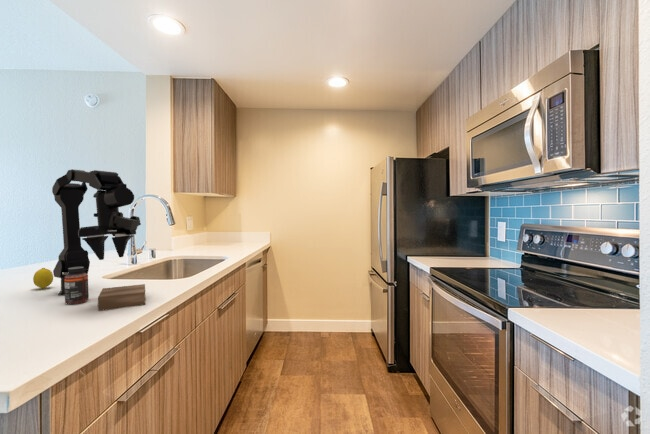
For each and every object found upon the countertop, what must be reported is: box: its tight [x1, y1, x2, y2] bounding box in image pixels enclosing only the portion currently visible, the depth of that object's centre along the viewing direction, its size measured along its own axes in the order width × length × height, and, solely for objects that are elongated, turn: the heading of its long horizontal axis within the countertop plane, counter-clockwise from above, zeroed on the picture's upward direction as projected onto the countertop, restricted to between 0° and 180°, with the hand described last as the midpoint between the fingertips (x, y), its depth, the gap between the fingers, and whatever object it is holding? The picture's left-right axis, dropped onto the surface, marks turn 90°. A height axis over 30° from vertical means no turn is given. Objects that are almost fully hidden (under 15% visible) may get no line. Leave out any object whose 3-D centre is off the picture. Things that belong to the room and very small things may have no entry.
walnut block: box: [97, 283, 146, 312], centre depth 98 cm, size 12×12×4 cm
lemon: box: [32, 267, 54, 290], centre depth 114 cm, size 6×6×8 cm
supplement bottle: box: [64, 267, 89, 305], centre depth 98 cm, size 6×6×11 cm
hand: (111, 258), depth 96 cm, fingers open, 9 cm apart
